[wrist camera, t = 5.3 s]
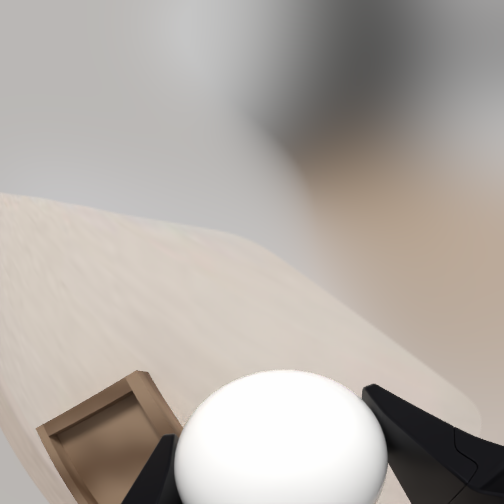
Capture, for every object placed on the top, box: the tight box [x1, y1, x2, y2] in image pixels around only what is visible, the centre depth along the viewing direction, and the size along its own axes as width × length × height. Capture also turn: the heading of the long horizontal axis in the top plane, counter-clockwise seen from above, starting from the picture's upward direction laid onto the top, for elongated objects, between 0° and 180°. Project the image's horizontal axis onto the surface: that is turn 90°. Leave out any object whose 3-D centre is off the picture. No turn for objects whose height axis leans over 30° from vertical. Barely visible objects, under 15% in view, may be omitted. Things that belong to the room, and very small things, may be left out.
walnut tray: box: [36, 370, 183, 504], centre depth 16 cm, size 11×11×2 cm
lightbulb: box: [174, 369, 388, 504], centre depth 9 cm, size 6×6×11 cm
